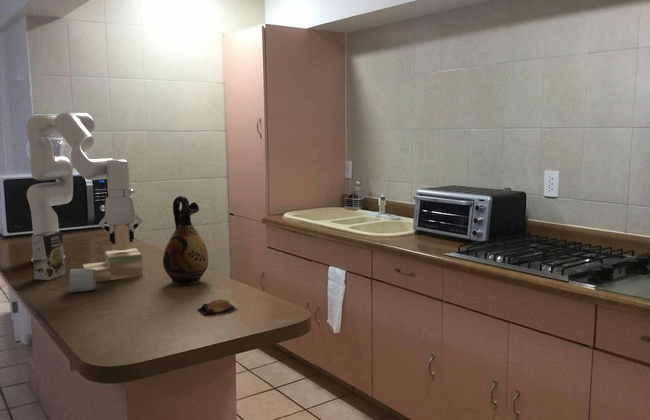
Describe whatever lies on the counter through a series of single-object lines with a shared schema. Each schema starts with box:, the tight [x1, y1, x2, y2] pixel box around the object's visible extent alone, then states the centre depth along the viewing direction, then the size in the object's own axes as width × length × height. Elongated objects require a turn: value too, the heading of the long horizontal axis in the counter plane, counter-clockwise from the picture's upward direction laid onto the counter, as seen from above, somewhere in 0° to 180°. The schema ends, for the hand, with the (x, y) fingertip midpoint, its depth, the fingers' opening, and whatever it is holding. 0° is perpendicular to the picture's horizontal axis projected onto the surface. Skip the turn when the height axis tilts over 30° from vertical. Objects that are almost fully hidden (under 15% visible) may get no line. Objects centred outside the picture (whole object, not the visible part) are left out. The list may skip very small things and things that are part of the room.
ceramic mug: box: [69, 268, 97, 293], centre depth 191 cm, size 11×8×8 cm
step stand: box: [82, 247, 144, 283], centre depth 209 cm, size 13×19×8 cm
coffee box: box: [31, 231, 66, 281], centre depth 207 cm, size 9×6×16 cm
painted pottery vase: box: [162, 195, 209, 287], centre depth 197 cm, size 17×15×30 cm
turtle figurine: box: [197, 298, 239, 317], centre depth 168 cm, size 11×8×4 cm
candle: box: [113, 224, 131, 250], centre depth 209 cm, size 6×6×10 cm
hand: (122, 242), depth 209 cm, fingers closed on candle, 5 cm apart
